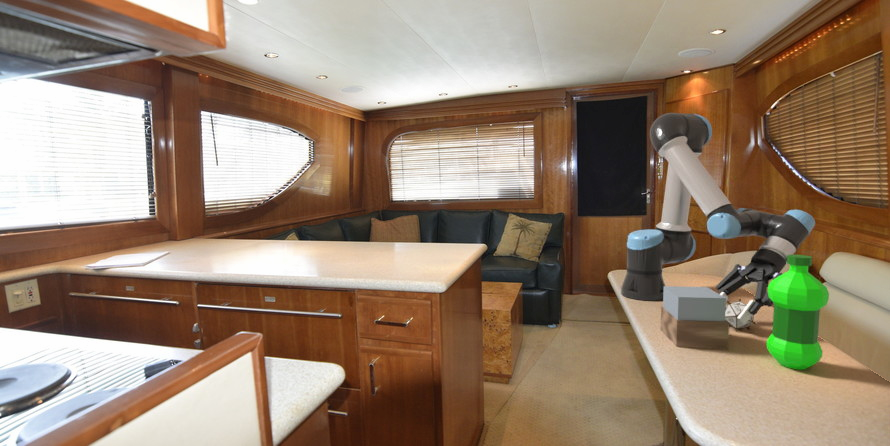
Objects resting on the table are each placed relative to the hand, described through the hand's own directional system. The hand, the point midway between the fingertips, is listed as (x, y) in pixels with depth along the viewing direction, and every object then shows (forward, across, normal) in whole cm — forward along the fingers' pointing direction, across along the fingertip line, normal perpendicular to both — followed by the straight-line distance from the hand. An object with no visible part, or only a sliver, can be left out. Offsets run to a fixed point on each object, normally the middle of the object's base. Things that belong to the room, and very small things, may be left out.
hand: (726, 316), depth 121 cm
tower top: (+8, -2, +12) cm, 15 cm away
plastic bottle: (+7, -22, +2) cm, 23 cm away
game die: (0, -1, -5) cm, 5 cm away
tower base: (+13, -3, +7) cm, 15 cm away
